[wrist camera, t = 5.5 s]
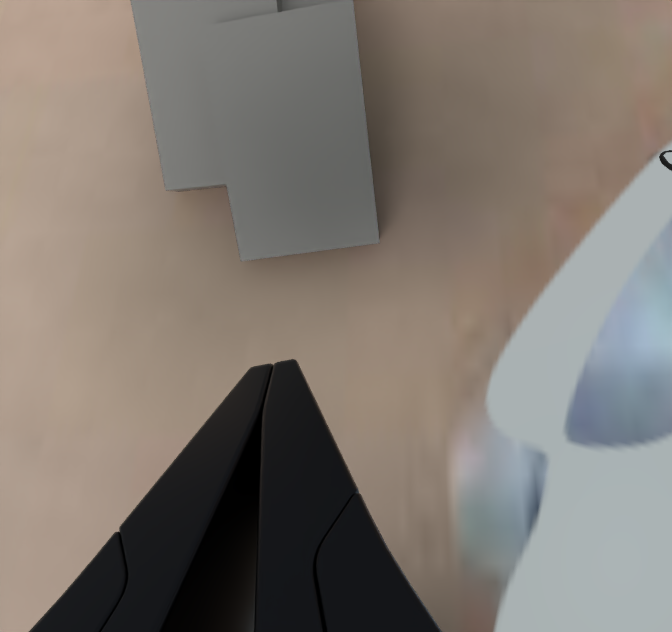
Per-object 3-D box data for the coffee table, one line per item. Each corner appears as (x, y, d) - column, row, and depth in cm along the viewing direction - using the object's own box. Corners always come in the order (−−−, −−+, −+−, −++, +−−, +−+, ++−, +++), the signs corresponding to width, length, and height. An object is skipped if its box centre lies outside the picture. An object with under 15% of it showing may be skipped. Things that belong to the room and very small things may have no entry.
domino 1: (296, 176, 19) (269, -66, 17) (165, 190, 19) (122, -43, 17) (300, 178, 20) (276, -45, 18) (178, 191, 21) (140, -24, 18)
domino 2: (379, 243, 18) (353, -2, 16) (240, 261, 18) (196, 27, 16) (378, 240, 19) (353, 15, 17) (248, 257, 20) (209, 41, 18)
